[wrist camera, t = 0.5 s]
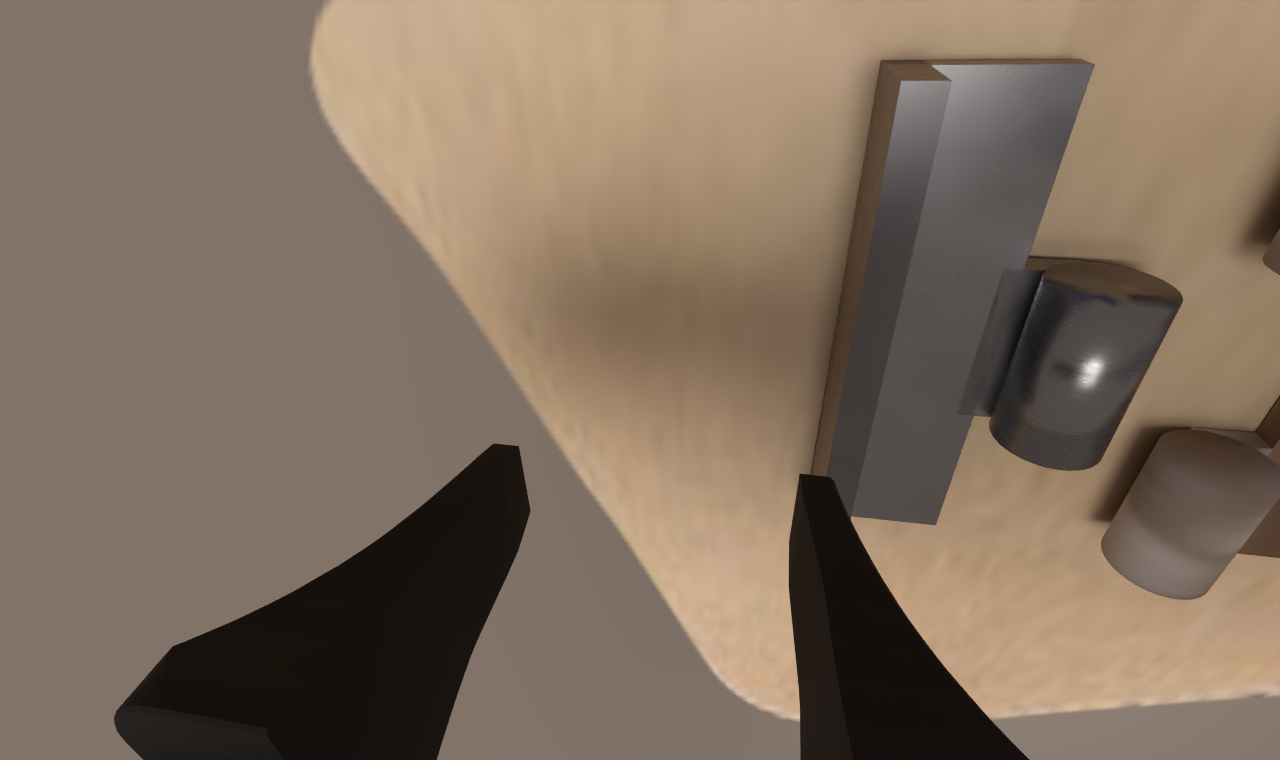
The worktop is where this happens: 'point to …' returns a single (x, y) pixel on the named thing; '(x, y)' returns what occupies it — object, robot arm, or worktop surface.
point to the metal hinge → (973, 292)
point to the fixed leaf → (1200, 504)
